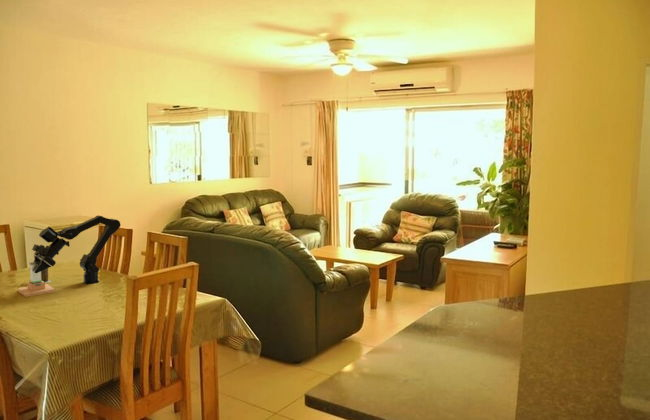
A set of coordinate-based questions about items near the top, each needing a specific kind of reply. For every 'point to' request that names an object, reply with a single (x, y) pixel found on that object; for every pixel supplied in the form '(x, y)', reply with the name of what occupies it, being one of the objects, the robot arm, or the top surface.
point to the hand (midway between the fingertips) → (32, 271)
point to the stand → (36, 289)
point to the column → (35, 276)
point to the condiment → (45, 276)
